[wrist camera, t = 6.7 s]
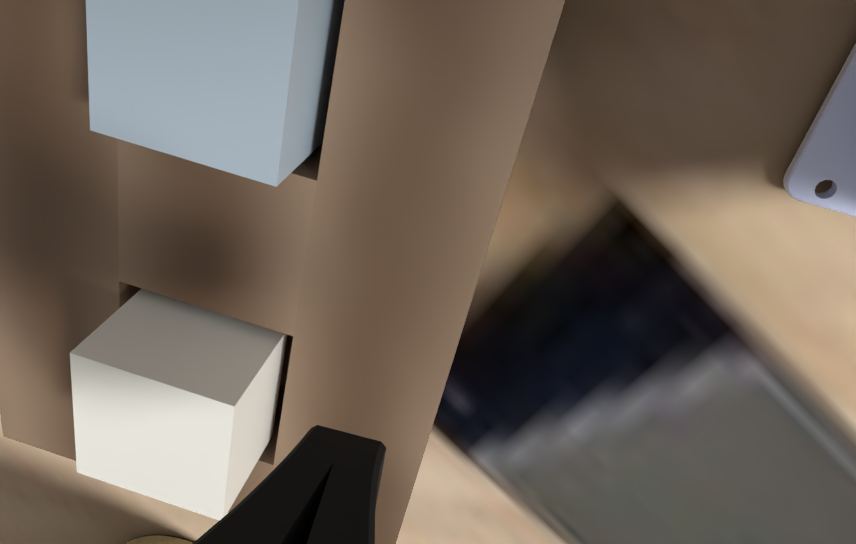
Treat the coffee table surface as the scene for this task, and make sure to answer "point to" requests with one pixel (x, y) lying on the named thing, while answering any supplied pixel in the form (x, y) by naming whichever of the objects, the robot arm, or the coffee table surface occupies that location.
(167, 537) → the plant pot
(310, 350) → the board
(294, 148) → the slate key
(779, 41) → the coffee table surface
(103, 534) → the coffee table surface
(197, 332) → the ivory key
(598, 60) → the coffee table surface
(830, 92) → the robot arm
